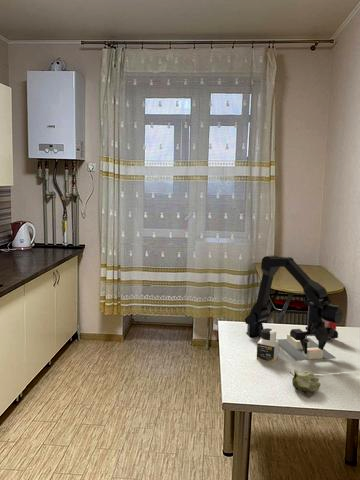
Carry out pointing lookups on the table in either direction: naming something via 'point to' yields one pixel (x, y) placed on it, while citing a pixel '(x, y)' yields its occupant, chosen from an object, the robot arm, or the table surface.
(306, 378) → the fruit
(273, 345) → the medicine bottle
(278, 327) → the table surface
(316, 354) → the stub
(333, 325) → the soda can
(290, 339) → the ticket
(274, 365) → the table surface
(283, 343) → the mat
